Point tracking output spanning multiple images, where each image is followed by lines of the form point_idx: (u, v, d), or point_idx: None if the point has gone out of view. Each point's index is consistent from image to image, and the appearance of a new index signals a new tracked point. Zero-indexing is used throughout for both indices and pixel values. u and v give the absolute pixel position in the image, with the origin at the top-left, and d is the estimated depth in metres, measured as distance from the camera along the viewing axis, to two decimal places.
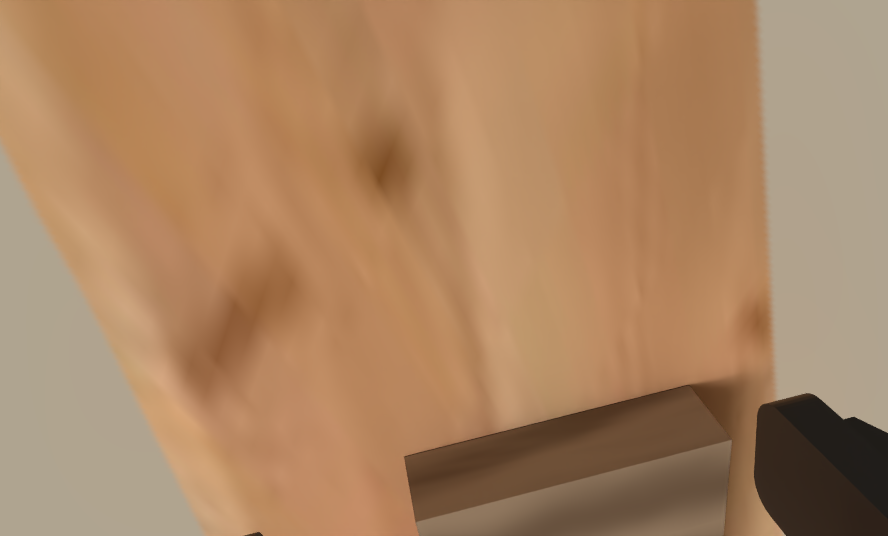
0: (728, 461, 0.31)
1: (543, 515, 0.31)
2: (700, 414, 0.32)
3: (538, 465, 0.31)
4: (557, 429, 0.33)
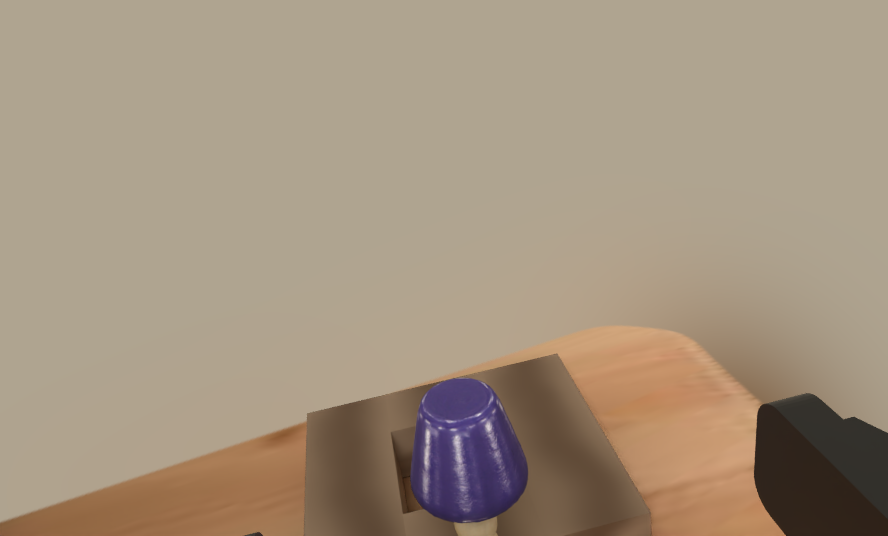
0: (327, 409, 0.46)
1: (335, 506, 0.38)
2: None
3: None
4: None
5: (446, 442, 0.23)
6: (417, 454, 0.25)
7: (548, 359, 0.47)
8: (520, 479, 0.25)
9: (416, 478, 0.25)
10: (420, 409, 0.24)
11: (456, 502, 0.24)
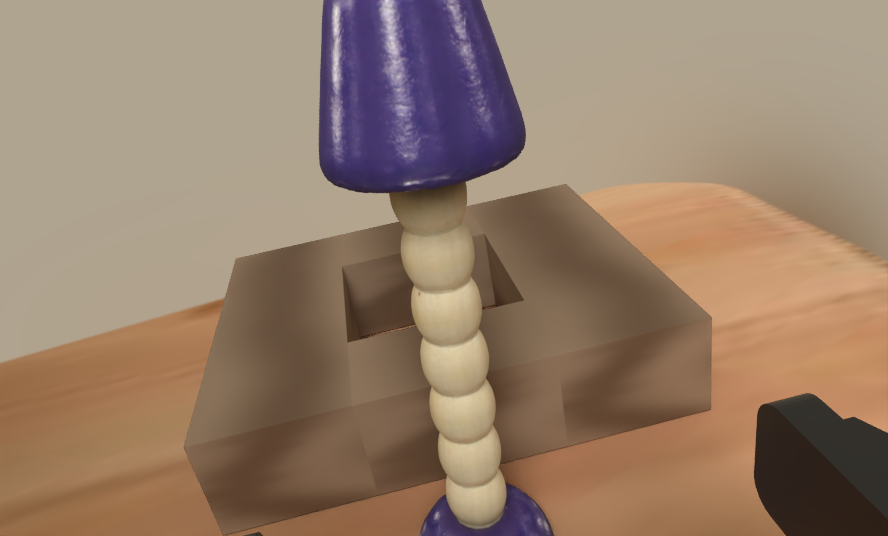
0: (262, 253, 0.35)
1: (254, 341, 0.27)
2: None
3: None
4: None
5: (368, 13, 0.12)
6: (323, 76, 0.14)
7: (554, 189, 0.36)
8: (511, 123, 0.14)
9: (323, 129, 0.14)
10: None
11: (389, 143, 0.13)
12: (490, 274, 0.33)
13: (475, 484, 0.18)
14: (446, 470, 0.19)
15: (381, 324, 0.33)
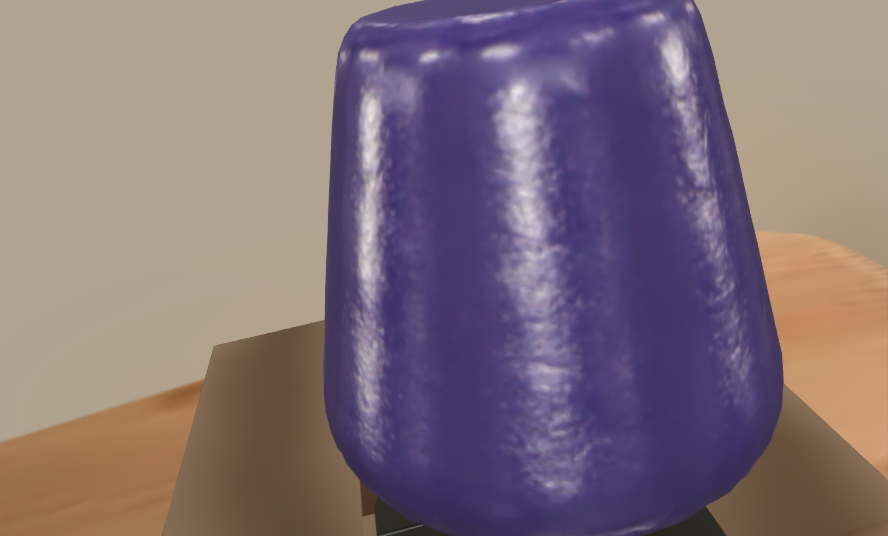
0: (248, 338, 0.27)
1: (230, 502, 0.19)
2: None
3: None
4: None
5: (461, 127, 0.04)
6: (335, 252, 0.06)
7: None
8: (777, 358, 0.06)
9: (335, 362, 0.06)
10: (343, 41, 0.06)
11: (510, 453, 0.05)
12: None
13: None
14: None
15: None
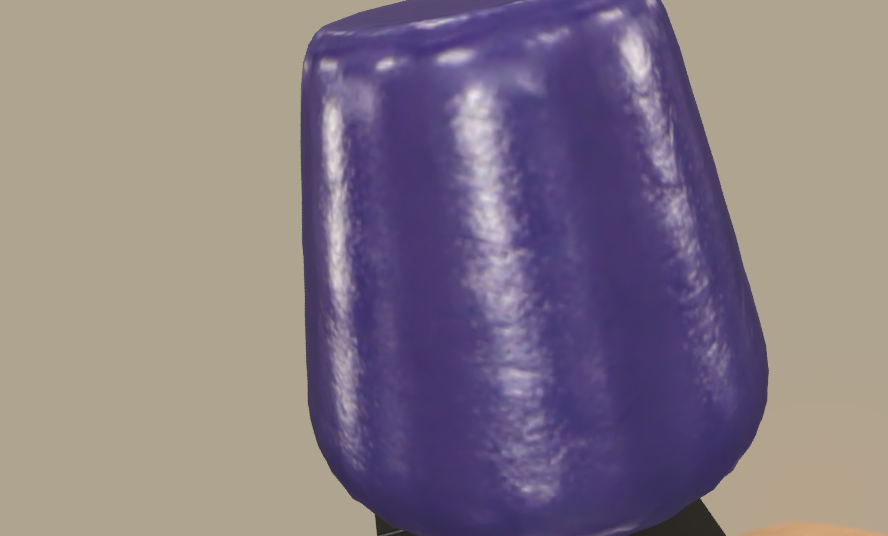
0: None
1: None
2: None
3: None
4: None
5: (421, 135, 0.04)
6: (309, 262, 0.06)
7: None
8: (758, 352, 0.06)
9: (315, 371, 0.06)
10: (307, 50, 0.05)
11: (486, 457, 0.05)
12: None
13: None
14: None
15: None
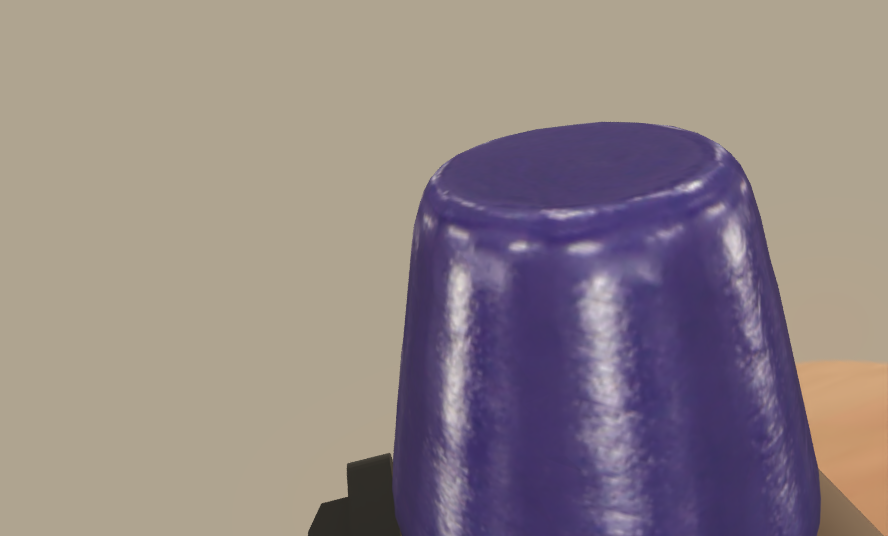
0: None
1: None
2: None
3: None
4: None
5: (549, 310, 0.05)
6: (416, 388, 0.06)
7: None
8: (817, 480, 0.06)
9: (412, 482, 0.07)
10: (425, 202, 0.06)
11: None
12: None
13: None
14: None
15: None
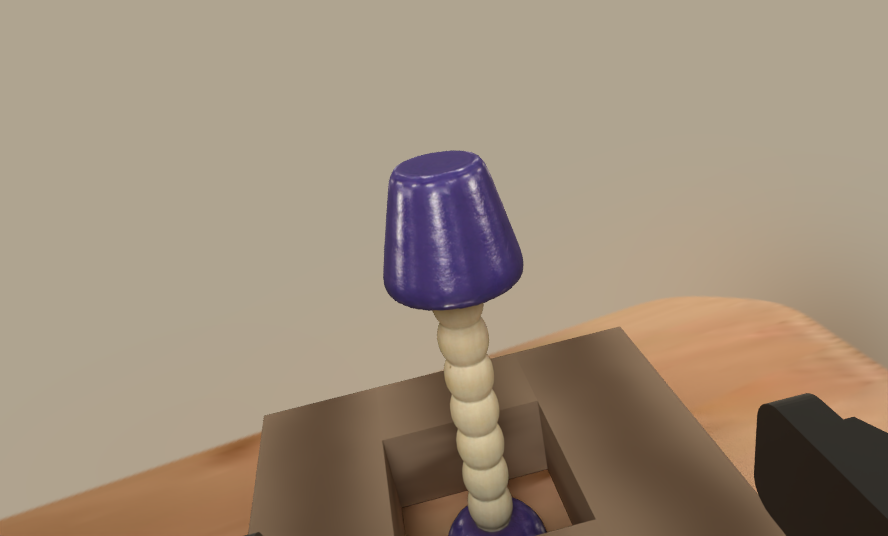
0: (292, 409, 0.32)
1: None
2: None
3: None
4: None
5: (422, 202, 0.19)
6: (389, 233, 0.21)
7: (608, 334, 0.33)
8: (513, 261, 0.21)
9: (389, 265, 0.21)
10: (391, 176, 0.20)
11: (435, 281, 0.20)
12: (543, 440, 0.30)
13: (490, 498, 0.25)
14: (468, 489, 0.25)
15: (424, 494, 0.30)
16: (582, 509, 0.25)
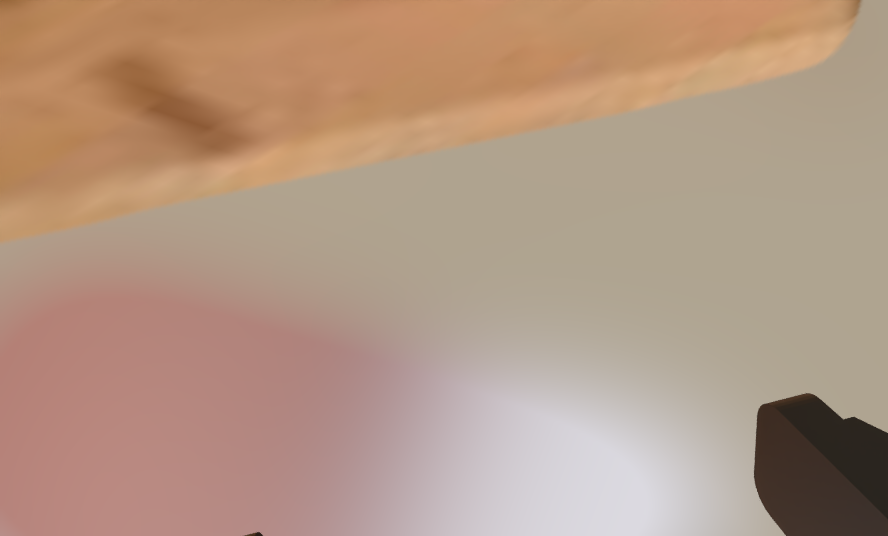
0: None
1: None
2: None
3: None
4: None
5: None
6: None
7: None
8: None
9: None
10: None
11: None
12: None
13: None
14: None
15: None
16: None
